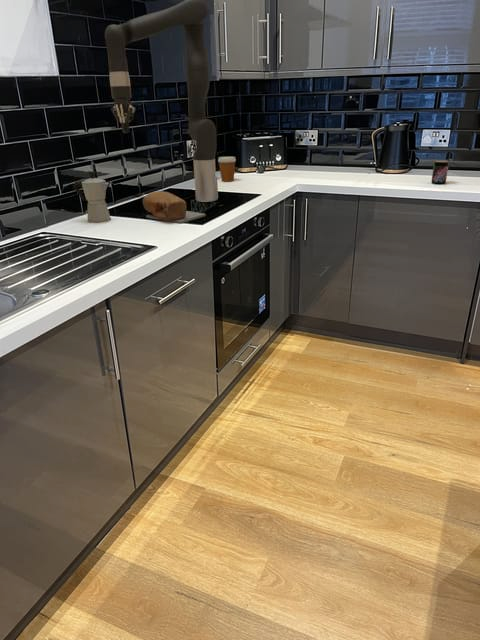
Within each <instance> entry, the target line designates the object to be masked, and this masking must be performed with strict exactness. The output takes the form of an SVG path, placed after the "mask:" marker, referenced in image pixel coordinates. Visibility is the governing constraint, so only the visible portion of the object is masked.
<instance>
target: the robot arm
mask: <svg viewBox="0 0 480 640" xmlns="http://www.w3.org/2000/svg"><path fill="white" fill-rule="evenodd" d="M207 16H208V6H207V3H206V1H205V0H183V1H182V2H180V3H179V2H178V3H177V4H175V5H174V6H171V7H168V8H166V9H162V10H159V11H155V12H151V13H147V14H144V15H141V16H138V17H135V18H132V19H130V20H128V21H126V22H124V23H120V24H114V23H113V24H110V25H108V26H107V27H106V28H105V31H104V38H105V44H106V45H105V46H106V50H107V56H108V57H107V59H108V61H107V62H108V72H109V83H110V91H111V99H114V100H113V101H114V103H113V107H111V108H110V112H111V113H112V114H113V116H114V117H115V119H116V121H117V122H119V123H120V125H121V131H122V133H123V134H129V133H130V122H132V121H133V120H134V117H135V114H136V111H137V108H136V107H134V106H132V102H131V99H132V88H131V78H130V74H129V66H128V59H127V56H126V45H129V44H131V43H132V42H137V41H142V40H143V39H148V38H150V37H153V36H155V35H159V34H161V33H163V32H166V31H167V30H170V29H173V28H176V27H180V26H182V27H183V30H184V38H185V39H184V40H185V73H186V75H185V76H186V85H187V87H186V89H187V99H188V134H189V137H190V138H191V140H193V141H195V142H196V149H195V151H194V152H193V154H192V158H193V159H192V160H193V172H194V173H193V174H194V175H193V176H194V192H195V200H196V202H201V203H207V202H209V203H210V202H214V201H218V199H219V192H218V191H219V186H218V176H216V175H217V174H216V153H217V127H216V125H215V123H214V122H213V120H211V119H208V118H206V100H207V97H208V93H209V89H210V65H209V59H208V54H207V48H206V45H205V40H204V39H205V37H204V36H205V35H204V31H205V20H206V19H207Z"/></svg>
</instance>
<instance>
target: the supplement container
mask: <svg viewBox="0 0 480 640" xmlns="http://www.w3.org/2000/svg"><path fill="white" fill-rule="evenodd" d="M449 165H450V160H443V159H442V160H441V159H440V160H434V161H433V168H432V175H431V181H430V182H431V184H433V185H442V186H443V185H445V184H447V183H446V182H447V179H448V178H447V177H448V170H449Z"/></svg>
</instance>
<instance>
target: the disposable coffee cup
mask: <svg viewBox="0 0 480 640" xmlns="http://www.w3.org/2000/svg"><path fill="white" fill-rule="evenodd" d="M217 161H218V162H217V163H218V166H219V172H220V178H221V182H223V183H232V182H234V179H235V169H236V167H235V165H236V161H237V159H236V156H218V159H217Z"/></svg>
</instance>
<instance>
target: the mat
mask: <svg viewBox="0 0 480 640" xmlns="http://www.w3.org/2000/svg"><path fill="white" fill-rule="evenodd" d="M206 216H207V215H206V213H202V212H195V211H190V210H186V216H185V217H184V218H180V219H174V220H163V219H159V218H157V217H156V216H154V215H153V214H152V213H151V214H146V215H145V217H146V218H148V219H153V220H157V221H164V222H168V223H169V222H170V223H176V224H179V225H180V224H184V223H187V222H190V221H193V220H197V219H200V218H203V217H206Z"/></svg>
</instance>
